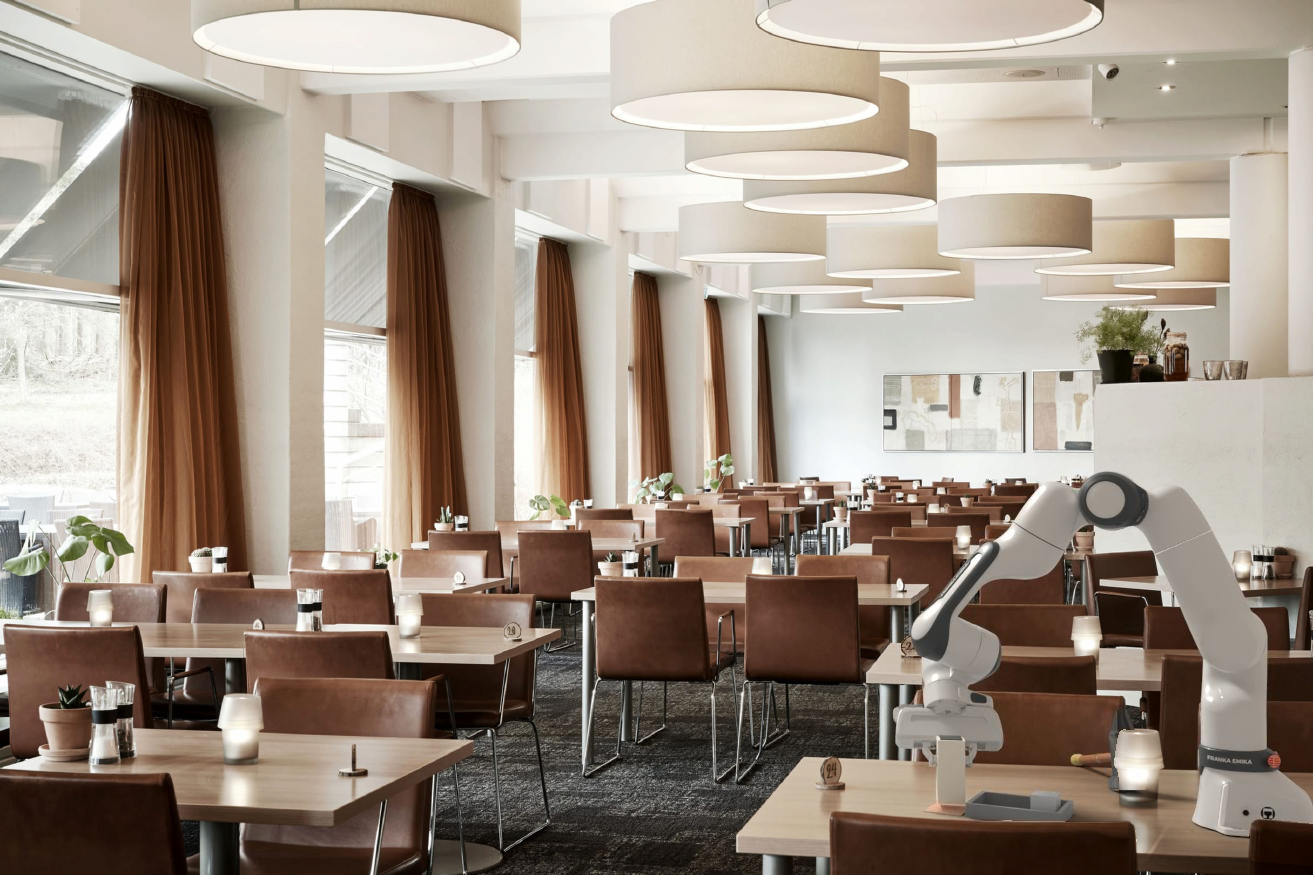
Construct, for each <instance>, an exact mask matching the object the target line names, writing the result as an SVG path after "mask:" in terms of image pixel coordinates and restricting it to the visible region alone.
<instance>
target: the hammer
mask: <svg viewBox="0 0 1313 875" xmlns="http://www.w3.org/2000/svg"><path fill="white" fill-rule="evenodd" d="M1123 729H1126V730H1135V731H1136V729H1135V726H1134V724H1133V720H1132V719H1131V717H1130V713H1129V711H1128V709H1116V710H1115V712H1114V717H1113V721H1112V724H1111V729H1110V732H1109V733H1108V741H1109V751H1110V752H1105V753H1101V752H1098V753H1095V754H1087V755H1082V754H1081V753H1077V754H1076V753H1074V754H1073V755H1071V757H1070V762H1071V764H1072V765H1073V766H1075V767H1082V766H1083V765H1084V764H1095V763H1098V764H1102V763H1106V762H1111V775H1112V776H1110V777H1108V778H1107V779H1106V780H1107V781H1106V782H1107V788H1108V789H1109V790H1110V791H1112V792H1120V791H1119V777H1118V772H1117V769H1116V768H1115V766H1114V758H1115V751H1116V744H1117V738H1118V735H1119V732H1120V731H1121V730H1123Z"/></svg>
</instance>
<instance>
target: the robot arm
mask: <svg viewBox="0 0 1313 875" xmlns="http://www.w3.org/2000/svg"><path fill="white" fill-rule="evenodd" d="M1088 525H1089V526H1095V527H1097V528H1099V529H1101V530H1105V531H1110V532H1112V531H1113V532H1114V531H1120V530H1124V529H1127V528H1128V527H1134V528H1137V529H1138V530H1139V531H1140V532H1141V533H1143V535H1144V536H1145V538H1146V539H1147V541H1148V543H1149V545H1150V547H1151V549H1152V551H1153V553H1154V555H1155V557H1156V559H1157V561H1158V564H1159V566H1160V567H1161V569H1162V571H1163V574H1164V576H1165V578H1166V579H1167V581H1168V583H1169V585H1170V587H1171V590H1172V592H1173V593H1174V596H1175V598H1176V600H1177V602H1178V605H1179V607H1180V609H1181V613H1182V615H1183V617H1184V620H1185V621H1186V622H1185V623H1186V624H1187V627H1188V629H1189V631H1190V633H1191V635H1192V638H1193V640H1194V643H1195V645H1196V646H1197V649H1198V651H1199V653H1200V656H1202V682H1201V695H1200V728H1201V729H1200V739H1201V740H1200V743H1199V744H1198V750H1197V770H1198V774H1199V775H1200V776H1199V785H1198V786H1199V787H1198V794H1197V800H1196V805H1195V809H1194V812H1193V816H1192V818H1191V821H1192V822H1193V823H1194V824H1196V825H1198V826H1200V827H1202V828H1203V827H1204V828H1207V829H1211V830H1214V831H1217V832H1218V833H1220V834H1224V835H1227V836H1239V837H1249V830H1250V825H1251V823H1252V821H1254V820H1256V819H1270V820H1281V821H1292V822H1298V823H1309V824H1313V803H1312V799H1311V798H1310V796H1309V795H1308V793H1307V792H1306V791H1305V790H1304V789H1303V788H1301V786H1299V785H1297V784H1296V783H1295V782H1294V781H1293V780H1291V779H1290V778H1288V776H1286V775H1285V774H1284V773H1282V772H1281V771H1280V770H1279V769H1280V765H1281V758H1280V755H1279V754H1278V753H1279V752H1277V751H1276V750H1275V751H1273V750H1272V749H1270V748H1269V747H1267V743H1268V742H1267V739H1268V738H1267V735H1268V734H1267V730H1268V728H1267V725H1268V724H1267V698H1268V697H1267V695H1268V694H1267V692H1268V691H1267V690H1268V686H1267V684H1268V632H1267V628H1266V626H1265V624H1264V622H1263V621H1262V620H1261V618H1260V617H1259V616H1258V615H1257V614H1256V613H1254V612H1253V611H1252V610H1251V608H1250V606H1249V603H1248V600H1247V599H1246V597H1245V595H1244V593H1243V591H1242V588H1241V586H1240V585H1239V582H1238V580H1237V577H1236V575H1235V573H1234V569H1233V568H1232V566H1231V564H1230V561H1229V560H1228V558H1227V556H1226V555H1225V553H1224V551H1223V549H1222V546H1221V545H1220V543H1219V541H1218V539H1217V537H1216V535H1215V533H1214V531H1213V530H1212V527H1211V526H1210V524H1209V522H1208V520H1207V519H1206V516H1205V515H1204V513H1203V512H1202V510H1201V509H1200V508H1199V506H1198V505H1197V503H1196V502H1195V500H1194V499H1193V497H1191V496H1190V494H1189V493H1188V492H1187V491H1186V489H1184V488H1183V487H1181V486H1178V485H1174V484H1167V485H1161V486H1157V487H1155V488H1152V489H1144V488H1143V487H1141V486H1140V485H1138V484H1137V483H1136V482H1135V481H1134V480H1133V479H1132V478H1130V477H1129V476H1127V475H1126V474H1124V473H1121V472H1117V471H1101V472H1096V473H1095V474H1092V475H1091V476H1089V477H1088V478H1086V480H1085V481H1084V482H1083V483H1082V484H1081V487H1079V488H1078V487H1077V488H1076V487H1073V486H1072V485H1071V486H1070V485H1068V484H1067V483H1063V482H1060V481H1047V482H1044V483H1042V484H1041V485H1040V486H1039V487H1038V488H1037V489H1036V490H1035V491H1034V493H1033V494H1032V495H1031V496H1030V498H1029V499H1028V500H1027V501H1026V503H1025V504H1024V505H1023V507H1022V508H1021V509H1020V511H1019V512H1018V514H1017V516H1016V517H1015V519H1014V521H1013V522H1012V523H1011V525H1010V527H1008V529H1007V530H1006V531H1005V532H1004V533H1003V534H1001V536H999V537H998V538H997V539H994V540H993V541H987V542H986V541H985V543H982V544H981V545H980V546H979V547H978V548H977V549H976V550H975V551H973V553H972V554H971V555H970V556H969V557H968V559H967V560H966V561H965V562H964V563H963V565H962V566H961V567H960V569H959V570H958V571H957V572H956V573H955V575H954V576H953V577H952V578H951V580H949V582H948V583H947V584H946V586H945V587H944V588H943V589H942V591H941V592H940V593H939V594H938V595H937V596H936V598H934V600H933V601H932V602H931V603H930V604H929V605H928V606H927V607H926V608H924V609H923V611H921V612H920V613H919V614H918V616H916V618H915V619H914V621H913V623H912V625H911V627H910V634H909V636H910V640H911V643H912V646H913V648H914V650H915V653H916V654H917V655H918V656H919V657H921V678H922V681H923V683H924V685H923V686H924V687H923V689H922V697H923V698H922V699H923V700H922V701H923V704H917V703H916V704H908V703H904V704H900V705H899V706H896V707H895V708H894V709H893V711H892V718H893V721H894V722H895V724H896V725H895V726H896V727H895V745H896V746H897V747H898V748H899V749H910V750H911V749H912V750H913V749H915V750H919V749H920V750H921V751H922V755H924V757H925V758H926V759H927V760H928V767H929V768H936V767H937V755H936V754H933V752H932V751H931V750H936V736H939V735H951V736H961V737H963V738H964V740H965V751H968V755H965V769H973V760H974V759H975V757H976V755H977V753H978V751H981V752H982V751H983V752H985V751H986V752H988V751H989V752H998V751H1000V749H1002V748H1003V744H1004V733H1003V727H1002V726H1003V725H1002V723H1001V720H1000V716H999V714H998V712H997V710H995V709H994V701H993V698H992V696H990V695H988V694H983V693H980V692H976V691H974V690H971V689H969V686H970V685H975V684H977V683H979V682H981V681H983V680H984V679H985V680H986V679H987V678H988V677H990V676H992V675H993V674H994V673H995V672H996V671H997V670H998V669H999V668H1000V665H1001V662H1002V654H1003V653H1002V652H1003V651H1002V650H1003V649H1002V644H1001V640H1000V638H999V636H997V635H996V634H995V633H994V632H991V631H989V630H988V629H986V628H984V627H981V626H980V625H977V624H973V623H971V622H969V621H967V620H965V619H964V618H961V617H959V615H960V613H962V611H963V610H964V609H965V608H966V606H967V605H968V604H969V603H970V601H971V600H972V599H973V598H974V597H975V595H976V594H977V593H978V591H979V590H980V589H981V588H982V586H984V585H985V584H987V583H990V582H991V581H992V582H993V581H995V580H1001V579H1002V580H1004V579H1011V580H1013V579H1014V580H1034V579H1038V578H1041V577H1044V576H1046V575H1048V574H1049V573H1051V572H1052V570H1054V568H1055V567H1056V566H1057V565H1058V563H1059V562H1060V560H1061V558H1062V556H1063V555H1064V553H1065V552H1066V550H1067V548H1068V547H1069V545H1070V543H1071V541H1072V540H1073V538H1074V536H1076V534H1077V532H1079V530H1080V529H1082V528H1084V527H1085V526H1088Z"/></svg>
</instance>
